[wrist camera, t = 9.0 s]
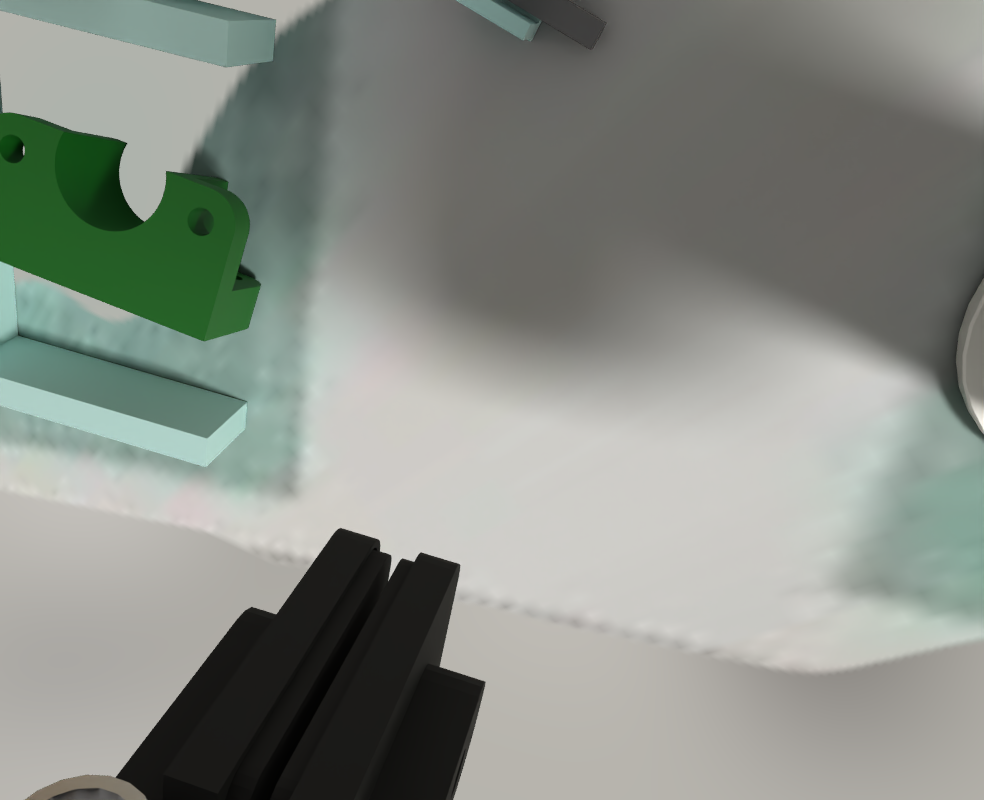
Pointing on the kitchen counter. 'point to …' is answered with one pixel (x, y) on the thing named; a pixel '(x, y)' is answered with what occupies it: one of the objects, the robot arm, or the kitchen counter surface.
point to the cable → (566, 19)
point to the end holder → (97, 383)
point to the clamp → (122, 231)
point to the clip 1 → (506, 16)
